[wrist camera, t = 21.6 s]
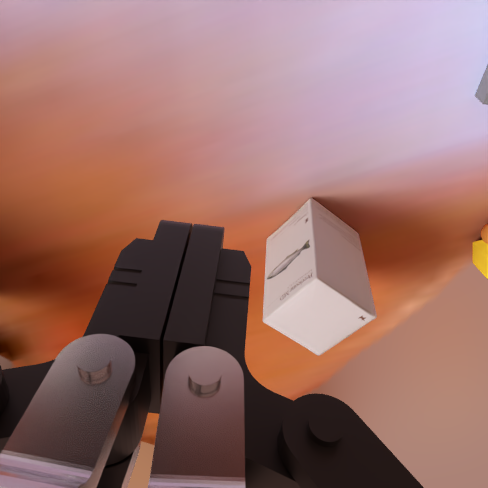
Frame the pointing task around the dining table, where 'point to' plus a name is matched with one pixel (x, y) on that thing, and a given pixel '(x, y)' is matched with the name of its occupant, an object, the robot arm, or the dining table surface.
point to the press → (483, 89)
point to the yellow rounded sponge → (481, 252)
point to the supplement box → (316, 280)
